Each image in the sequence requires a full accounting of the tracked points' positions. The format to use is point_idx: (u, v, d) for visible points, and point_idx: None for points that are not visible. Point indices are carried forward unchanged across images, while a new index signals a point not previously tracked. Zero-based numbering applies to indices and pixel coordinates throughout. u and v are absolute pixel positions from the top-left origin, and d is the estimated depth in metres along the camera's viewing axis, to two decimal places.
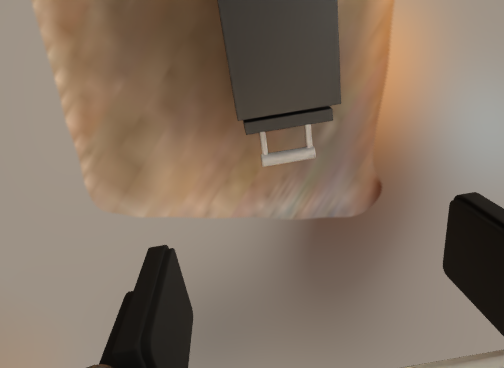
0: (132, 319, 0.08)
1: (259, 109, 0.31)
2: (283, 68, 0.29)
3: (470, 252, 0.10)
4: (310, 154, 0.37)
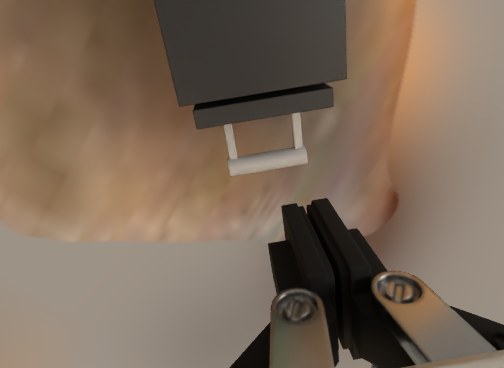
0: (308, 254, 0.09)
1: (213, 87, 0.19)
2: (250, 16, 0.17)
3: None
4: (300, 158, 0.25)
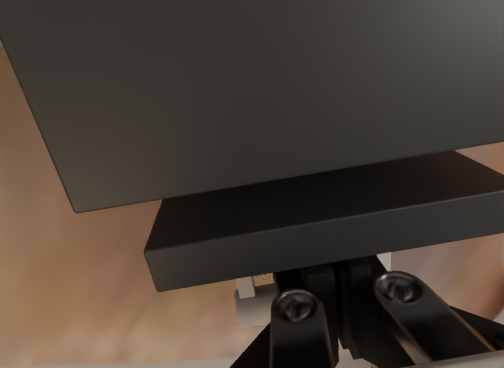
0: None
1: (185, 156, 0.06)
2: None
3: None
4: None
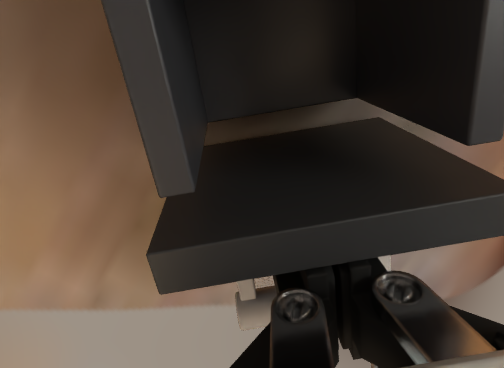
0: None
1: None
2: None
3: None
4: None
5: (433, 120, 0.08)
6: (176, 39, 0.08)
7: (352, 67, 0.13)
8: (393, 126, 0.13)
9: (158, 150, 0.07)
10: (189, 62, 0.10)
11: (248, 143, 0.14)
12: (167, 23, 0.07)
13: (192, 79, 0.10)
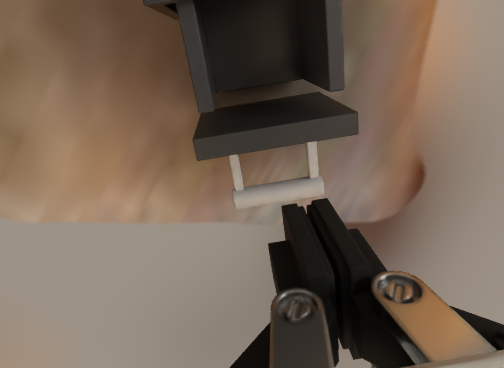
0: (308, 254, 0.09)
1: None
2: None
3: None
4: (315, 190, 0.22)
5: (322, 83, 0.18)
6: (204, 46, 0.18)
7: (298, 61, 0.22)
8: (323, 95, 0.23)
9: (199, 91, 0.16)
10: (208, 57, 0.20)
11: (240, 106, 0.23)
12: (202, 40, 0.17)
13: (210, 66, 0.20)
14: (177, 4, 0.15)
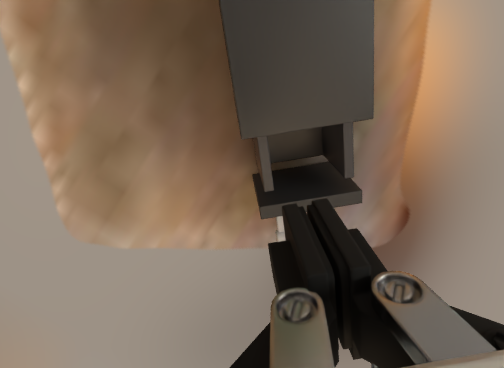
0: (308, 254, 0.09)
1: (269, 125, 0.24)
2: (300, 72, 0.23)
3: None
4: None
5: (339, 170, 0.28)
6: None
7: (321, 143, 0.33)
8: None
9: (266, 179, 0.27)
10: None
11: (280, 171, 0.34)
12: None
13: None
14: None
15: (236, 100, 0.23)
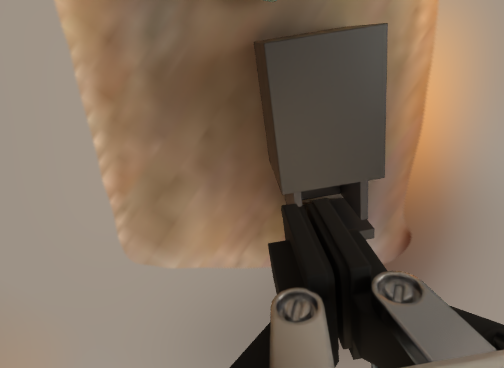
0: (308, 254, 0.09)
1: (304, 184, 0.31)
2: (329, 146, 0.30)
3: None
4: None
5: (356, 212, 0.35)
6: None
7: None
8: None
9: None
10: None
11: (304, 206, 0.41)
12: None
13: None
14: None
15: (279, 167, 0.30)
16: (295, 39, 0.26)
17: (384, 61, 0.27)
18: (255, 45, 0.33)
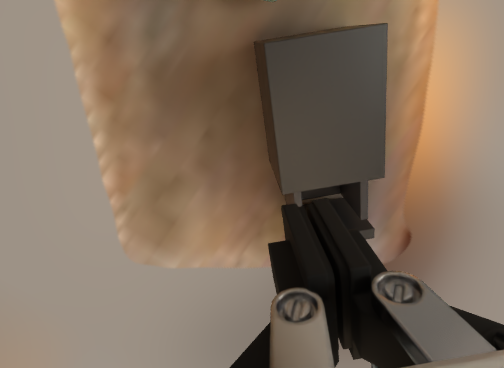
0: (308, 254, 0.09)
1: (304, 184, 0.31)
2: (329, 146, 0.30)
3: None
4: None
5: (356, 212, 0.35)
6: None
7: None
8: None
9: None
10: None
11: (304, 206, 0.41)
12: None
13: None
14: None
15: (279, 167, 0.30)
16: (295, 39, 0.26)
17: (384, 61, 0.27)
18: (255, 45, 0.33)
